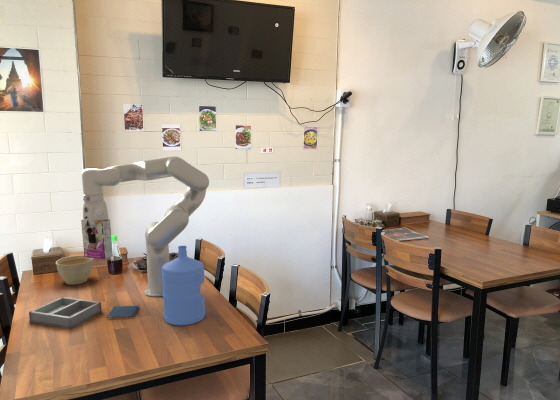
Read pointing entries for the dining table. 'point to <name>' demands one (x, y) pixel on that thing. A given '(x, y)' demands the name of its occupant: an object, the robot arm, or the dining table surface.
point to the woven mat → (123, 312)
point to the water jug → (183, 290)
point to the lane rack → (65, 312)
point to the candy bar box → (99, 241)
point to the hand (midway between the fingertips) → (97, 240)
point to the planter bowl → (75, 269)
